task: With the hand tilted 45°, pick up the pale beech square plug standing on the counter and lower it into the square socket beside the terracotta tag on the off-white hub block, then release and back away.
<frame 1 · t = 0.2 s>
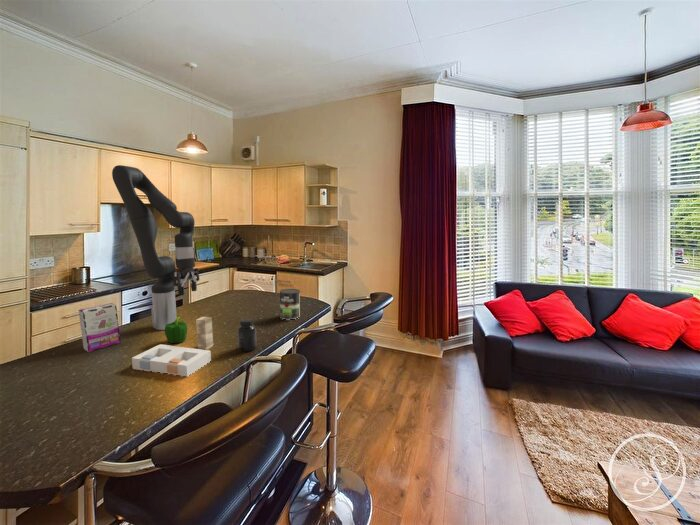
hand: (188, 293, 144), 17 cm above the countertop, tool pointing down, fingers open, 8 cm apart
coffee can: (290, 317, 167), on the countertop
candy bar box: (102, 346, 128), on the countertop
bell pepper: (177, 341, 134), on the countertop
socket hub: (173, 364, 114), on the countertop
supplement bottle: (247, 349, 128), on the countertop
beech plug: (205, 347, 129), on the countertop
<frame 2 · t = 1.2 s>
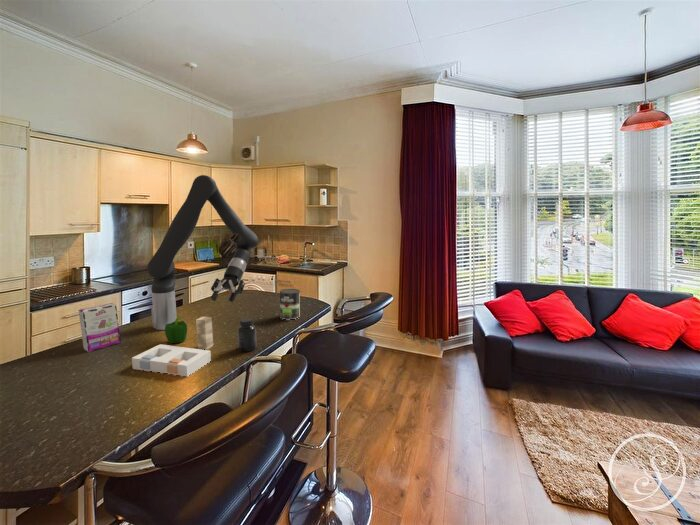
hand: (221, 300, 137), 16 cm above the countertop, tool tilted 45°, fingers open, 8 cm apart
nothing on the countertop moved.
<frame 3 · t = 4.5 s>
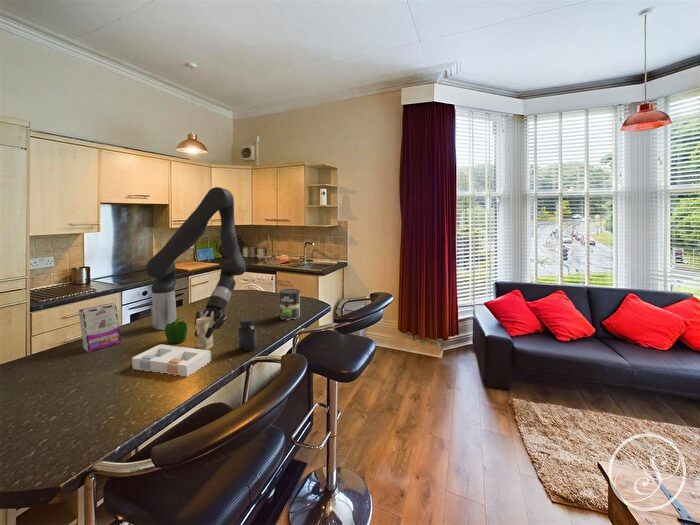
hand: (201, 336, 126), 5 cm above the countertop, tool tilted 45°, fingers closed on beech plug, 4 cm apart
beech plug: (205, 347, 129), on the countertop, touching gripper
everything else where it was.
when the fingers open (7 cm above the countertop, at t = 10.0 s): beech plug drops 2 cm, resting in socket hub.
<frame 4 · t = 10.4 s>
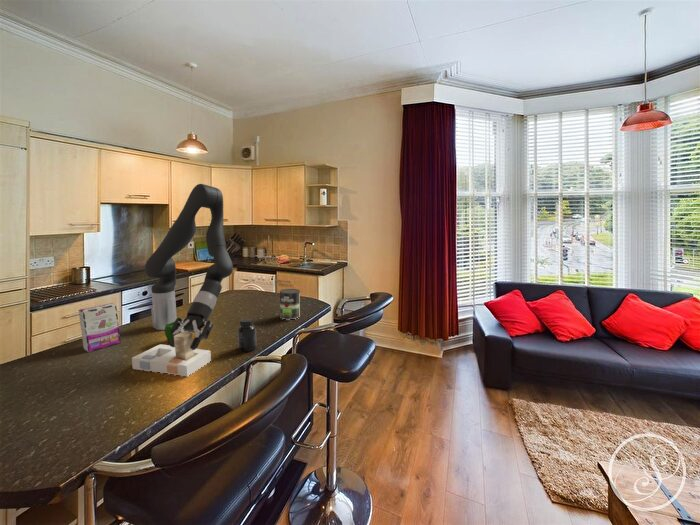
hand: (181, 347, 110), 8 cm above the countertop, tool tilted 45°, fingers open, 8 cm apart
beech plug: (186, 366, 112), resting in socket hub
everything else where it was.
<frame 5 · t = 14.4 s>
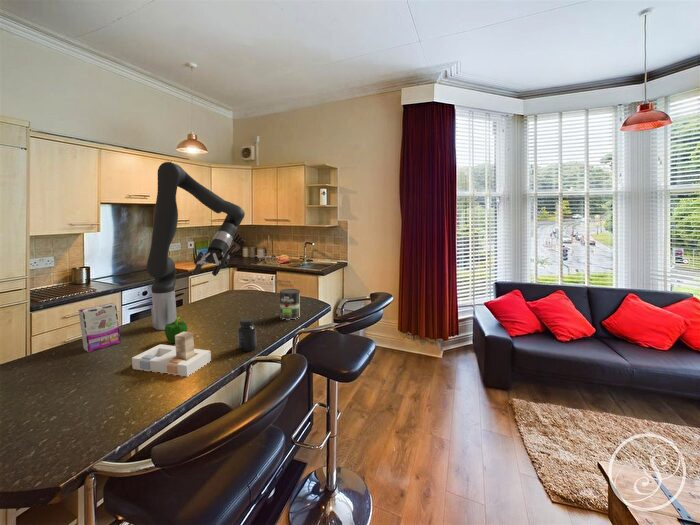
hand: (204, 274, 130), 29 cm above the countertop, tool tilted 45°, fingers open, 8 cm apart
nothing on the countertop moved.
at the end: beech plug 0.0 cm from the target spot on the socket hub, point 0.0 cm above the socket hub's base; beech plug tilted 0°; the gripper is holding nothing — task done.
